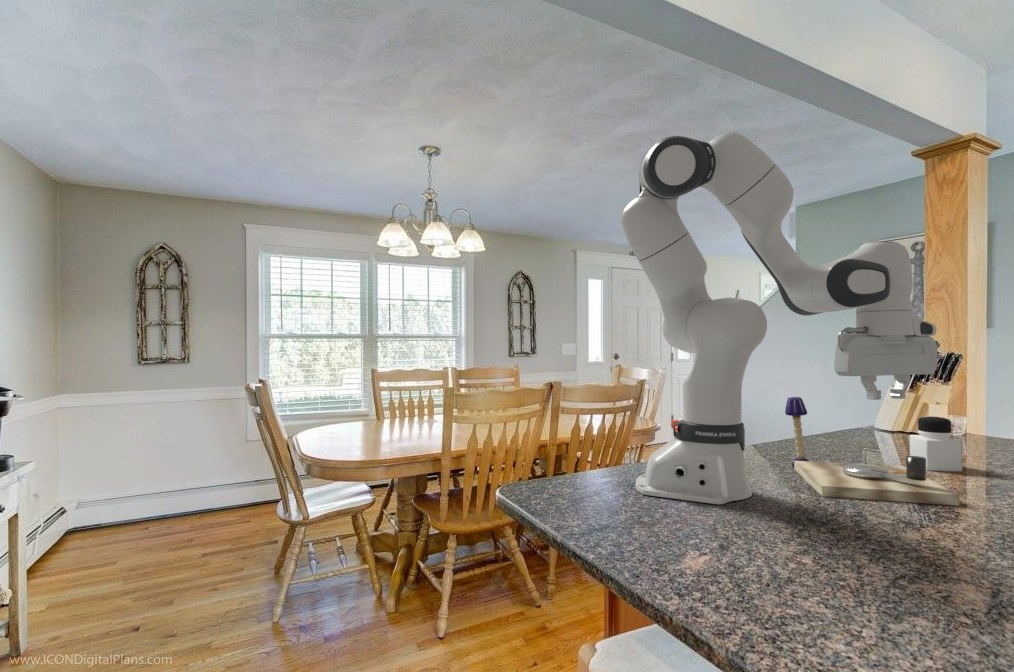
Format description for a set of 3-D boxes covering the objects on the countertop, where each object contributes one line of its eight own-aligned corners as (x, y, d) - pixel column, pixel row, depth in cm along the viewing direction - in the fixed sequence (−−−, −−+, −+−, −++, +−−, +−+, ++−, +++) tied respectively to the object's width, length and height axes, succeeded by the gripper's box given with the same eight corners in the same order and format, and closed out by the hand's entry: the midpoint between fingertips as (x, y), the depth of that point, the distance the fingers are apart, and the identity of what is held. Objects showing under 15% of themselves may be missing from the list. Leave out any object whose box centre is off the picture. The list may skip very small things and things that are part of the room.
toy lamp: (790, 468, 121) (785, 399, 121) (788, 463, 125) (783, 396, 125) (813, 469, 119) (808, 398, 119) (810, 463, 123) (805, 395, 123)
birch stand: (822, 496, 99) (821, 485, 99) (794, 469, 120) (794, 460, 120) (959, 505, 92) (958, 494, 92) (904, 475, 113) (904, 466, 113)
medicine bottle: (963, 472, 115) (961, 419, 116) (927, 471, 117) (926, 419, 117) (942, 464, 122) (941, 415, 122) (909, 463, 124) (908, 414, 124)
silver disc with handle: (834, 471, 107) (834, 447, 108) (856, 467, 111) (855, 444, 111) (915, 488, 95) (914, 461, 95) (935, 482, 98) (935, 456, 98)
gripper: (853, 326, 92) (854, 402, 91) (943, 326, 96) (945, 399, 95) (824, 327, 98) (826, 399, 97) (911, 327, 102) (912, 395, 102)
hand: (885, 399), depth 96 cm, fingers open, 4 cm apart
